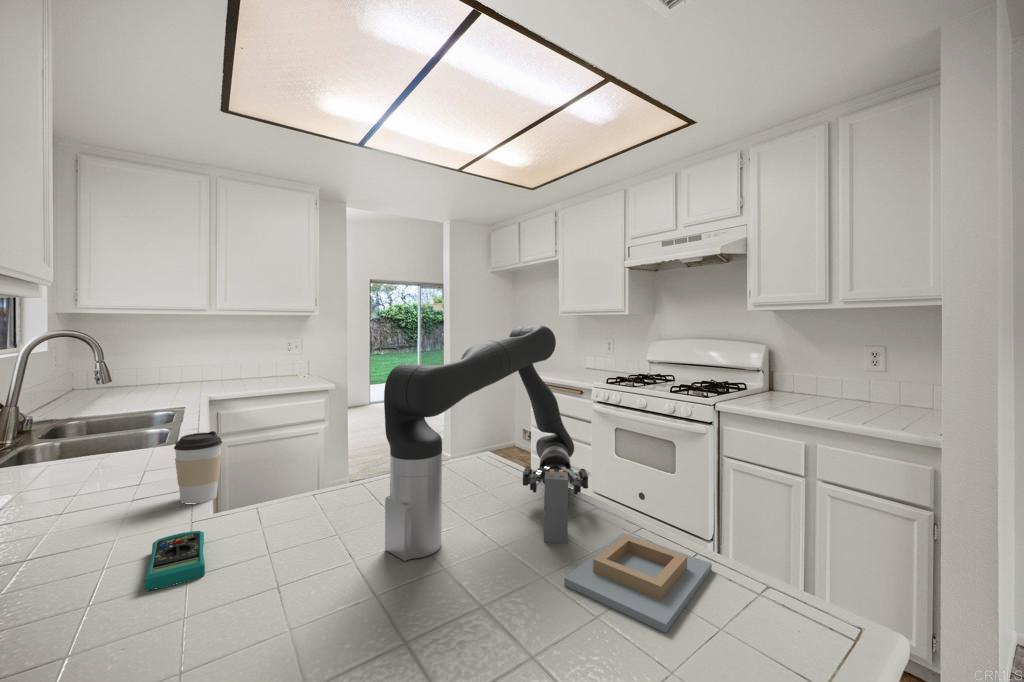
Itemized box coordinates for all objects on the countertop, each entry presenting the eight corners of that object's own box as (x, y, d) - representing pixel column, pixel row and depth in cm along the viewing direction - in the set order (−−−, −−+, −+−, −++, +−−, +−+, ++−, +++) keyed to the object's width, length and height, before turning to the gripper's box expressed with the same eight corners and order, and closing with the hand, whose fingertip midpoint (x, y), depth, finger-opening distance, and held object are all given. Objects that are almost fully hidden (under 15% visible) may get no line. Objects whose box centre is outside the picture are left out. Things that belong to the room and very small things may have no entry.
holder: (666, 633, 56) (666, 609, 56) (564, 585, 67) (564, 565, 67) (711, 570, 72) (711, 551, 71) (622, 539, 82) (622, 522, 82)
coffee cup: (184, 510, 93) (184, 441, 92) (167, 500, 98) (166, 435, 97) (230, 496, 100) (229, 432, 100) (211, 488, 105) (211, 427, 105)
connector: (543, 542, 80) (544, 473, 80) (544, 531, 85) (545, 466, 85) (567, 543, 80) (568, 474, 80) (566, 532, 84) (567, 467, 84)
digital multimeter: (204, 542, 80) (203, 526, 80) (205, 579, 68) (205, 561, 68) (152, 554, 76) (152, 537, 76) (144, 596, 64) (144, 576, 64)
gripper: (526, 448, 105) (521, 469, 89) (584, 450, 104) (590, 472, 88) (525, 478, 106) (520, 505, 89) (584, 481, 104) (589, 508, 88)
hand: (555, 488), depth 89 cm, fingers open, 8 cm apart
